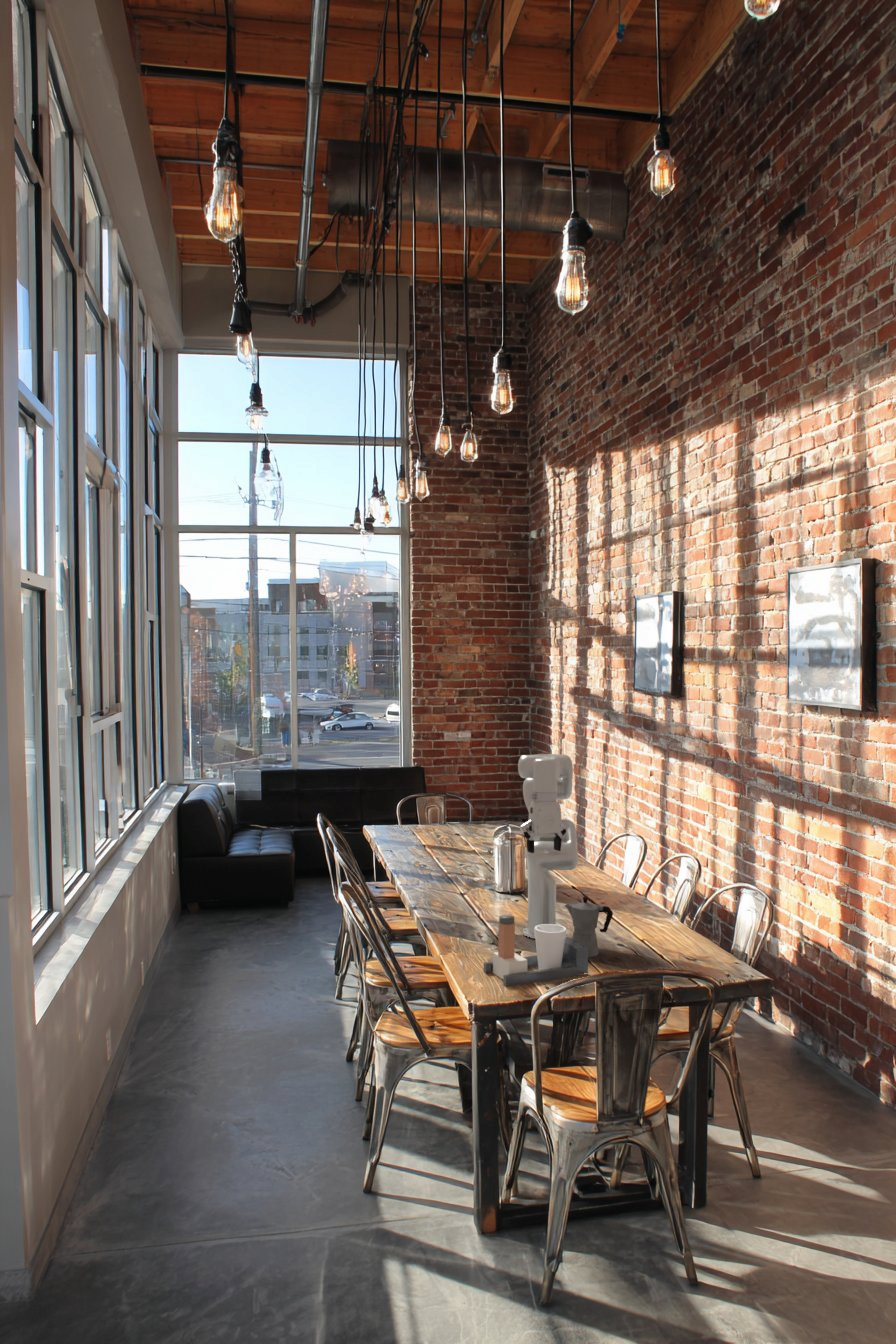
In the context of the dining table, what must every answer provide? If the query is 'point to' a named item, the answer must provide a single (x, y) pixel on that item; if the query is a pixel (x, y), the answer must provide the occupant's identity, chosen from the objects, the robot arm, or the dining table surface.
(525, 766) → the robot arm
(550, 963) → the foam cup
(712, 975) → the dining table surface
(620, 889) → the dining table surface
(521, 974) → the grey frame
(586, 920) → the coffeepot
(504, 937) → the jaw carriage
